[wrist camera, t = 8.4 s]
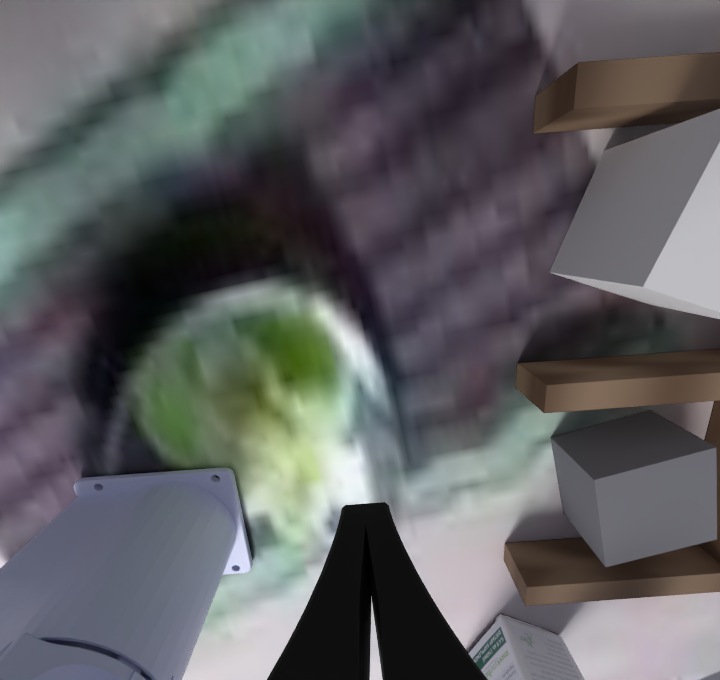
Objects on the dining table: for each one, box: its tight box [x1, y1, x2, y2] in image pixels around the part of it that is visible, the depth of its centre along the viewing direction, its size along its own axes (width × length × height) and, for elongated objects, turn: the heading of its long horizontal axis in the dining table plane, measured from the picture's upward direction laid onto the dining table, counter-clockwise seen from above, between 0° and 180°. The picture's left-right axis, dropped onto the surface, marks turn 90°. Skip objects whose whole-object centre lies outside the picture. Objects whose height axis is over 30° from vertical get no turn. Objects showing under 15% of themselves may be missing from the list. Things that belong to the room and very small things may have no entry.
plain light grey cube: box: [550, 109, 720, 319], centre depth 14 cm, size 6×6×6 cm
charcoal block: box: [551, 410, 717, 567], centre depth 19 cm, size 6×6×4 cm
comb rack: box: [504, 52, 720, 606], centre depth 17 cm, size 14×28×4 cm, turn 4°
